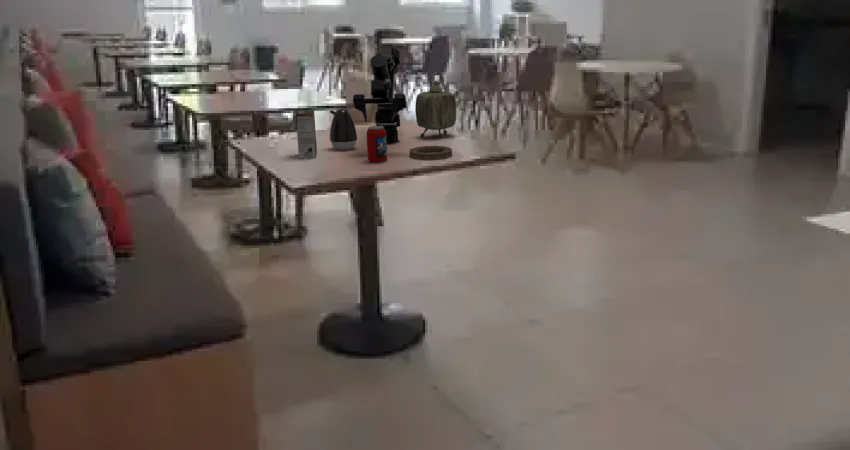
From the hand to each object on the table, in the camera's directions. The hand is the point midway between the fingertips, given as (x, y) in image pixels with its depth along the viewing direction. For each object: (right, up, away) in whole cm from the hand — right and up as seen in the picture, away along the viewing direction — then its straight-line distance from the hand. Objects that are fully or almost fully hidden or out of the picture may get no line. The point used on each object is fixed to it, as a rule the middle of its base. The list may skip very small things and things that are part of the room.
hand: (378, 120), depth 290 cm
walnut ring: (+18, -12, +4) cm, 22 cm away
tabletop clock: (+21, -2, +37) cm, 43 cm away
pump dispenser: (-14, -8, +19) cm, 25 cm away
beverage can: (0, -15, -3) cm, 15 cm away
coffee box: (-26, -12, +8) cm, 30 cm away
